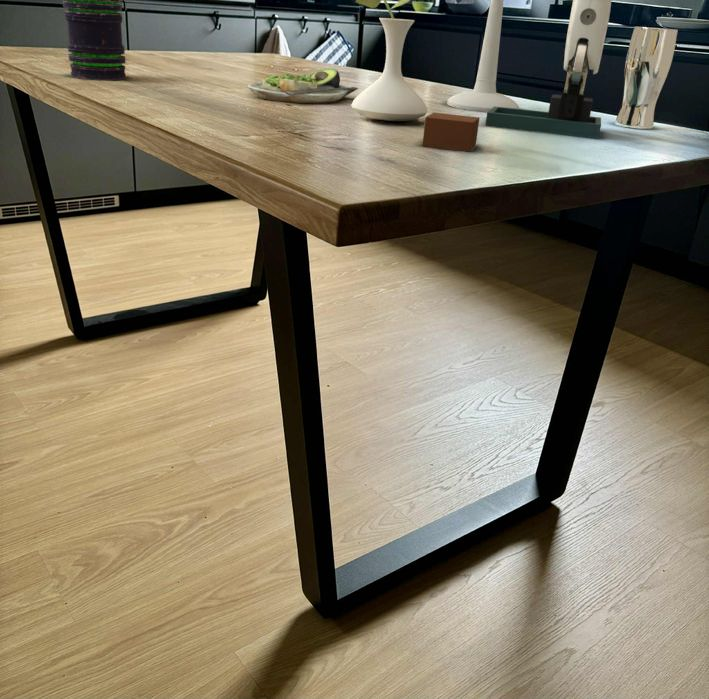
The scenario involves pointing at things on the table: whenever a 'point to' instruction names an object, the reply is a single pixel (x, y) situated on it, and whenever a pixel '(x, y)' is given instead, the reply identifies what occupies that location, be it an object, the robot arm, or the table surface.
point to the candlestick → (486, 70)
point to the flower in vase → (390, 77)
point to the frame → (541, 122)
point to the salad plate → (302, 87)
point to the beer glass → (645, 75)
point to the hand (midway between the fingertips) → (568, 119)
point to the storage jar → (95, 39)
